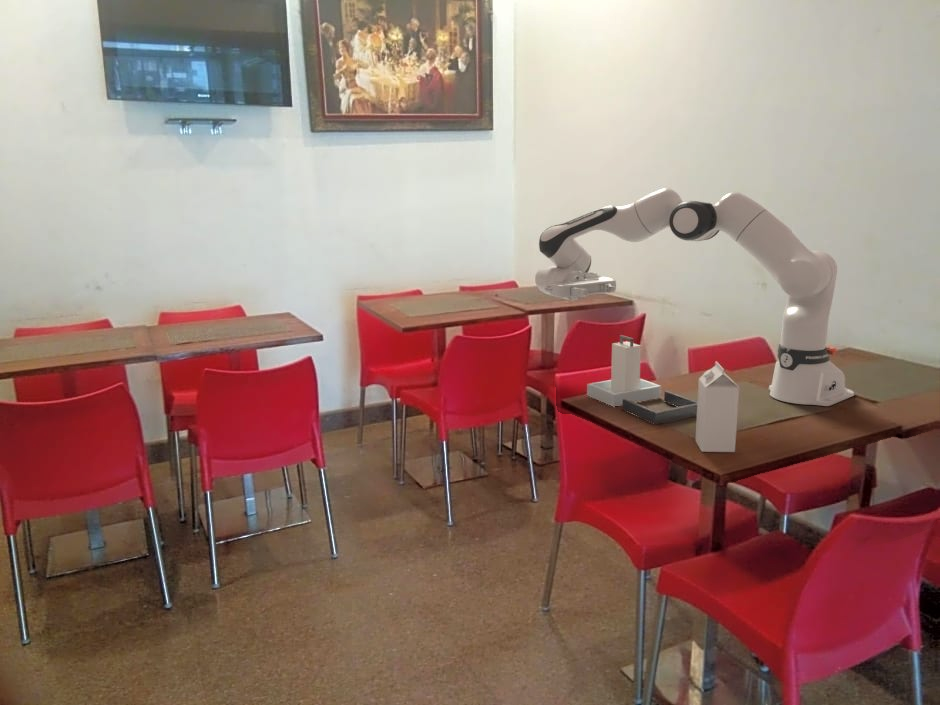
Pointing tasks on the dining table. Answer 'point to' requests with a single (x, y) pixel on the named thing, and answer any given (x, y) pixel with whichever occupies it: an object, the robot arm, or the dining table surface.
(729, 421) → the milk carton
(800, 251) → the robot arm
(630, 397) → the tray
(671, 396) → the tray
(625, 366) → the white block with handle
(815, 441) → the dining table surface
